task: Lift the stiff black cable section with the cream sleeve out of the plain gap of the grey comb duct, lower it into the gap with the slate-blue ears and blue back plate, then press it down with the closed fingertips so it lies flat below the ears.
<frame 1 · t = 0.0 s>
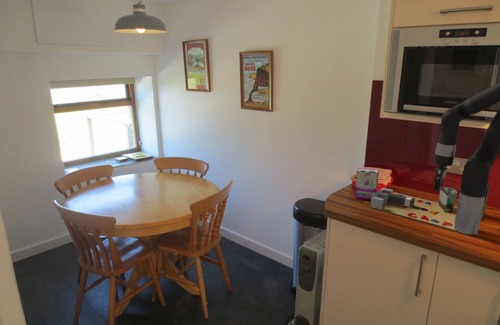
hand: (437, 187, 153), 17 cm above the counter, tool pointing down, fingers open, 8 cm apart
cord: (396, 203, 180), on the counter
coffee box: (475, 215, 166), on the counter
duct: (380, 202, 182), on the counter
candy bar box: (365, 198, 187), on the counter
food container: (447, 209, 173), on the counter
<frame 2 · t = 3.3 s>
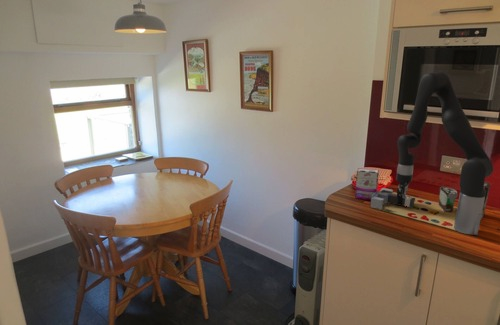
hand: (400, 203, 179), 0 cm above the counter, tool pointing down, fingers closed on cord, 4 cm apart
cord: (396, 203, 180), on the counter, touching gripper
everything else where it was.
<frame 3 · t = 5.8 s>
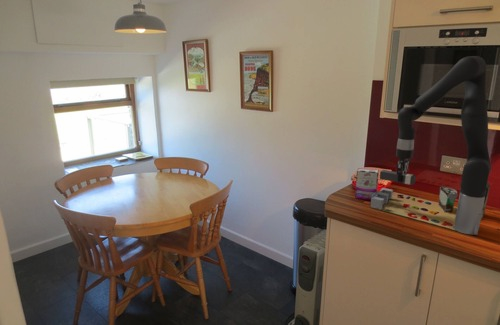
hand: (401, 180, 170), 15 cm above the counter, tool pointing down, fingers closed on cord, 4 cm apart
cord: (396, 180, 171), point 15 cm above the counter, touching gripper
everything else where it was.
when the fingers open (1 cm above the counter, at t = 8.5 s): cord stays where it is, on the counter.
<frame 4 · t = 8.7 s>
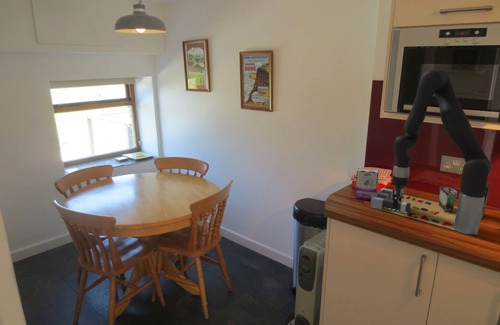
hand: (396, 205, 172), 2 cm above the counter, tool pointing down, fingers open, 6 cm apart
cord: (392, 208, 174), on the counter
everything else where it was.
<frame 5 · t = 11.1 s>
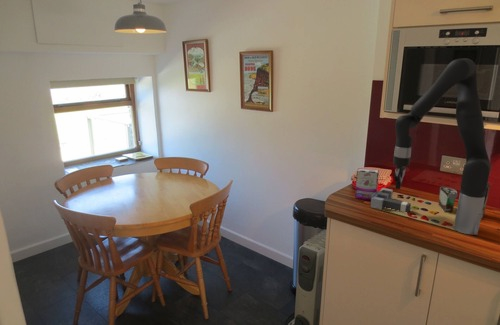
hand: (398, 188, 170), 11 cm above the counter, tool pointing down, fingers closed
nothing on the counter moved.
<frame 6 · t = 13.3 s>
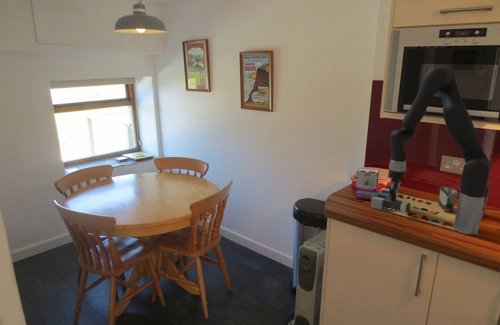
hand: (393, 200, 173), 4 cm above the counter, tool pointing down, fingers closed
cord: (392, 208, 174), on the counter, touching gripper
everything else where it was.
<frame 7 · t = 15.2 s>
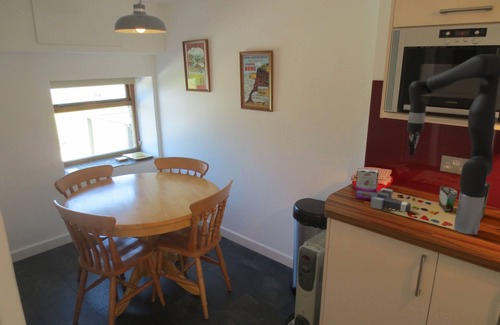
hand: (411, 154, 173), 27 cm above the counter, tool pointing down, fingers closed
cord: (392, 208, 174), on the counter
everything else where it was.
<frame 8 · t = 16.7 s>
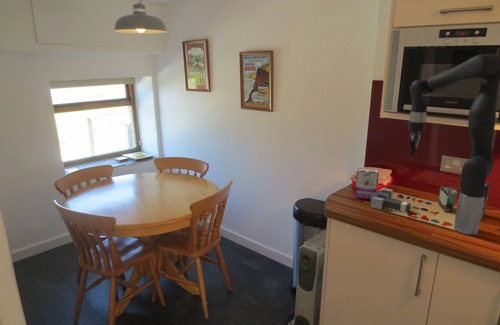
hand: (413, 154, 174), 27 cm above the counter, tool pointing down, fingers closed
nothing on the counter moved.
at the end: cord 0.1 cm from the target spot on the counter beside the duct, on the counter; cord tilted 0°; the gripper is holding nothing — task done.
